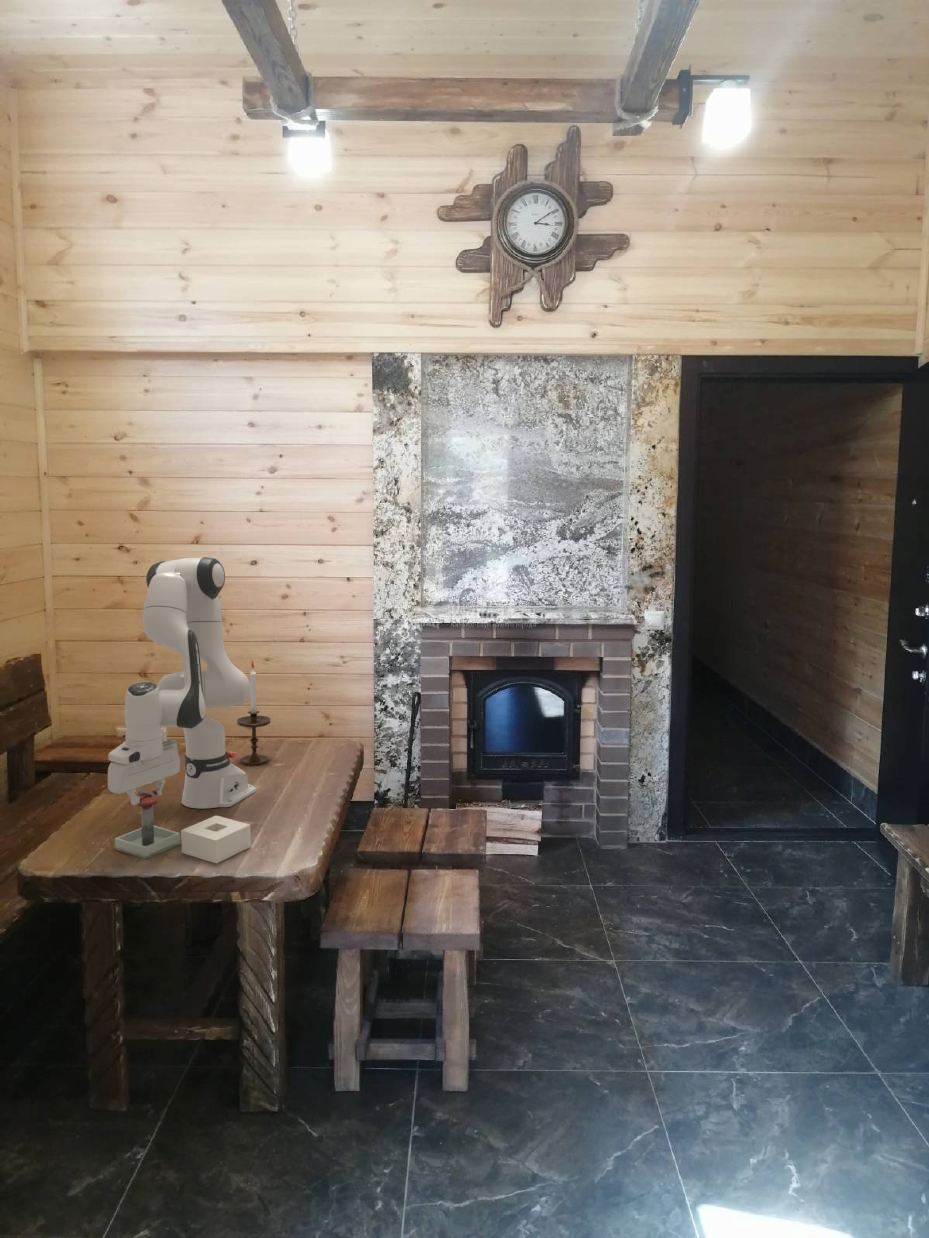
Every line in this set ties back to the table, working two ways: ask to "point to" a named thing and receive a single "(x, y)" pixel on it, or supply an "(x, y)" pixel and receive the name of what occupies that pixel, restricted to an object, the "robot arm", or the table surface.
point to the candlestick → (253, 725)
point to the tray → (162, 842)
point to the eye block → (215, 839)
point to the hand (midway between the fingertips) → (146, 799)
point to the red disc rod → (147, 815)
